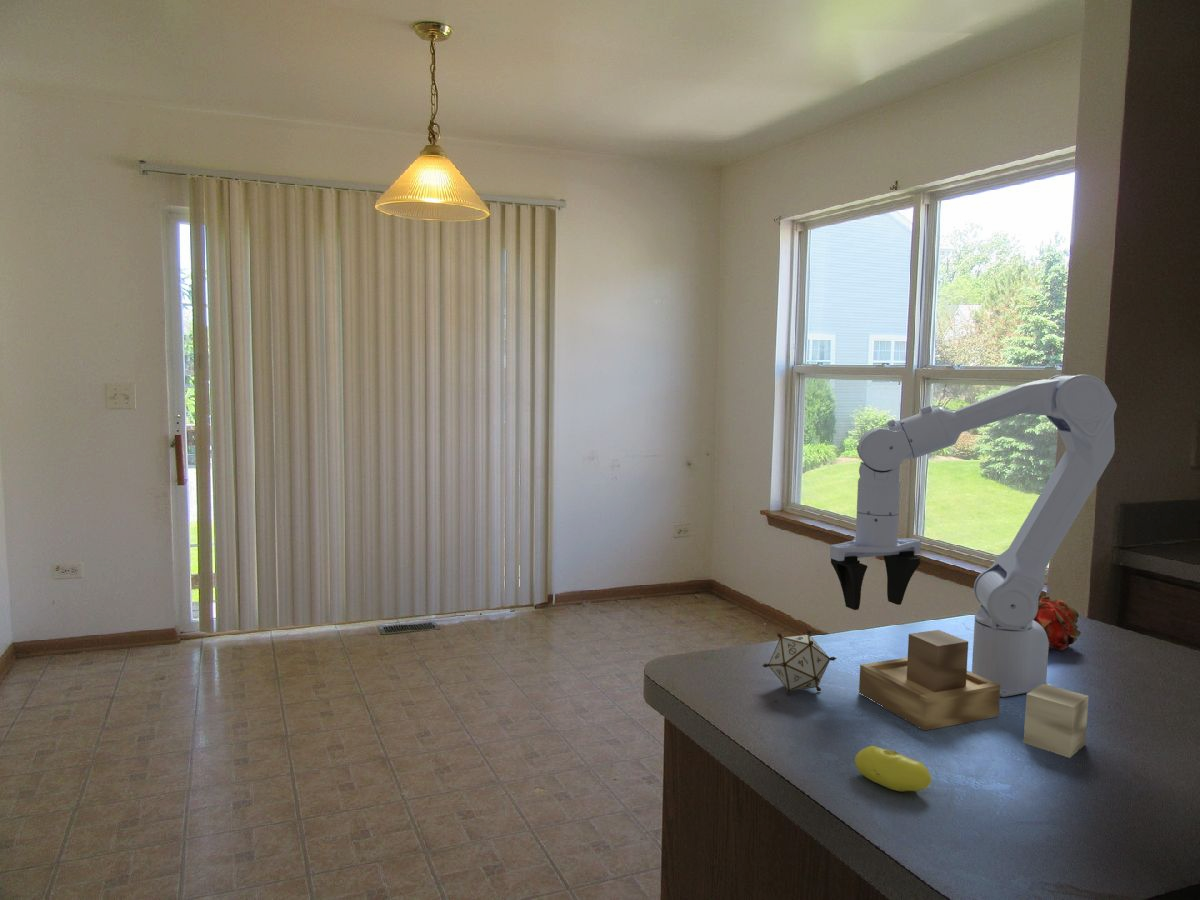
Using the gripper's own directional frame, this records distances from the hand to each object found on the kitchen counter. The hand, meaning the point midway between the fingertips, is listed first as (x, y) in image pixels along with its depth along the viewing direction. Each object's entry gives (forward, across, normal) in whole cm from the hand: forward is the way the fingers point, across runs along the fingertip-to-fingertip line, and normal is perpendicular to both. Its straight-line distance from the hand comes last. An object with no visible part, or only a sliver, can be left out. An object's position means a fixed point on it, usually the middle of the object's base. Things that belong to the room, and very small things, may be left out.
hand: (873, 605), depth 117 cm
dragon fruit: (+10, -34, +1) cm, 36 cm away
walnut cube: (+6, +1, +13) cm, 15 cm away
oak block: (+10, +1, +12) cm, 16 cm away
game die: (+10, +14, +2) cm, 17 cm away
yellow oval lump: (+10, +20, +27) cm, 35 cm away
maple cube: (+10, -5, +26) cm, 28 cm away
